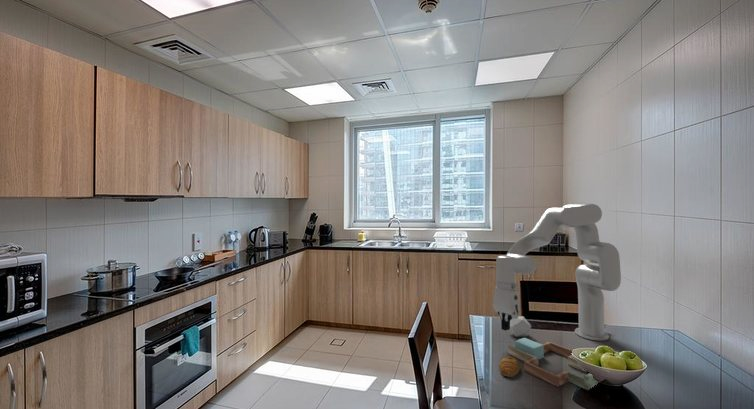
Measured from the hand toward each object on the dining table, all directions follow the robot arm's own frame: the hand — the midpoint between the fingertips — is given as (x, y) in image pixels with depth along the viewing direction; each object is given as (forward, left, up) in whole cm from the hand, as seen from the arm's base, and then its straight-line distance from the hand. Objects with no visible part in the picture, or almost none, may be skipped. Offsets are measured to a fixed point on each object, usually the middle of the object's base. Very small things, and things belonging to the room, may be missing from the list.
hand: (505, 329), depth 131 cm
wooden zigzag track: (-1, +19, -7) cm, 20 cm away
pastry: (+16, +14, -7) cm, 22 cm away
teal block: (-1, +10, -7) cm, 12 cm away
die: (-15, -4, -7) cm, 17 cm away
